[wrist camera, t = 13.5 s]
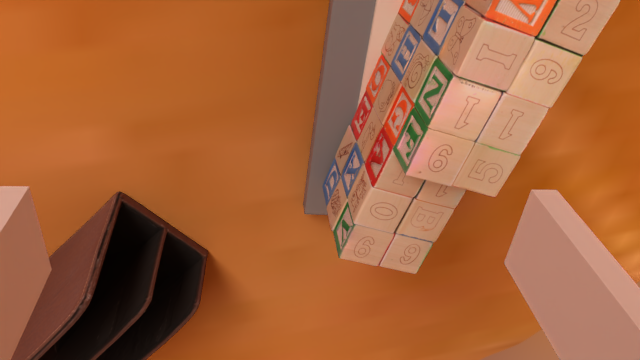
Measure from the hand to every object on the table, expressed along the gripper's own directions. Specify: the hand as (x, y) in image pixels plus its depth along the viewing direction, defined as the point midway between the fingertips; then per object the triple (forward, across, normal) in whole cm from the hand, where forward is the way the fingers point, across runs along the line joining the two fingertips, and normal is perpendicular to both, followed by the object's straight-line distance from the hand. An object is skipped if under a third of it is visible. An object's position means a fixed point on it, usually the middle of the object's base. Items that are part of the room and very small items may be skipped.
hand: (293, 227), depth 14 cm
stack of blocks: (+25, +11, -6) cm, 28 cm away
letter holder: (+27, -15, -28) cm, 41 cm away
